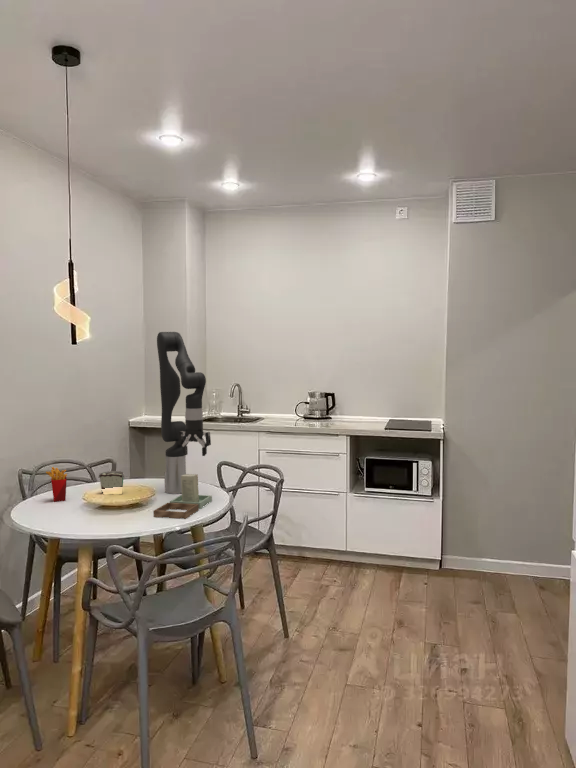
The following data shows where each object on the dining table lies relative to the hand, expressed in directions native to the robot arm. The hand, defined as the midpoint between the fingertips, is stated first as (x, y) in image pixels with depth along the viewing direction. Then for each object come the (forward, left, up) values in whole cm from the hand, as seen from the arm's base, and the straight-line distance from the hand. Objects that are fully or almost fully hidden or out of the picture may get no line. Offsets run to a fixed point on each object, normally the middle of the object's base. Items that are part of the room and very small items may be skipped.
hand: (194, 455), depth 262 cm
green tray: (-1, -3, -21) cm, 21 cm away
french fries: (-63, -9, -21) cm, 67 cm away
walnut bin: (-1, -18, -21) cm, 28 cm away
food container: (-45, +9, -21) cm, 50 cm away
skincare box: (-1, -3, -20) cm, 21 cm away
